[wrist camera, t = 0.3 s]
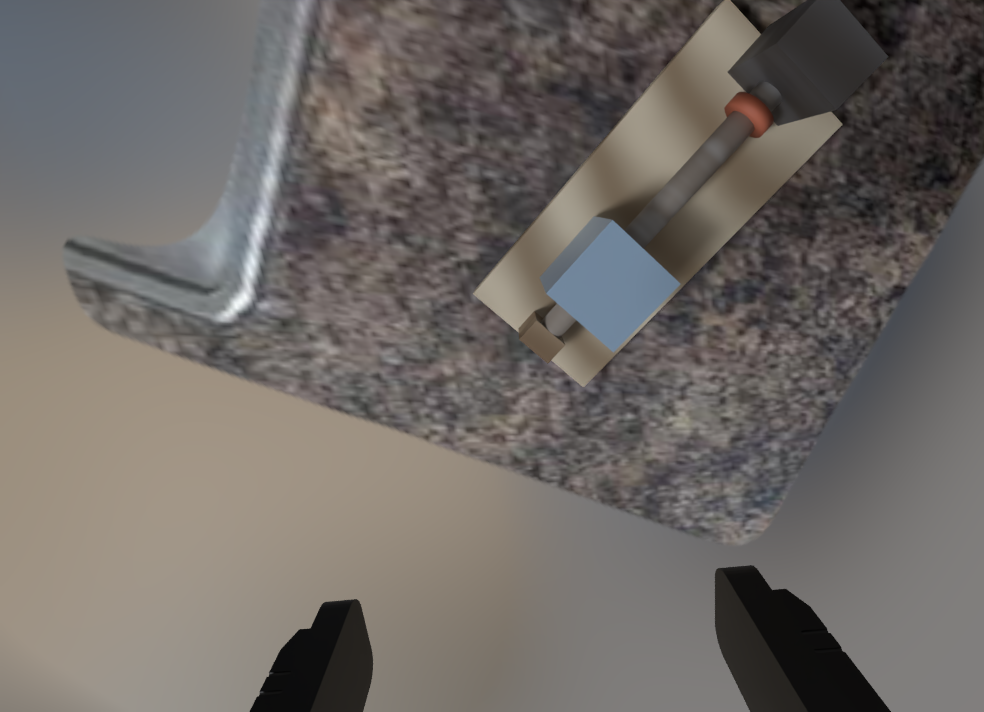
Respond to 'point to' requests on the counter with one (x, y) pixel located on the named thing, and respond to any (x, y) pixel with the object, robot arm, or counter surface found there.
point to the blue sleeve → (607, 282)
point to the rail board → (648, 174)
